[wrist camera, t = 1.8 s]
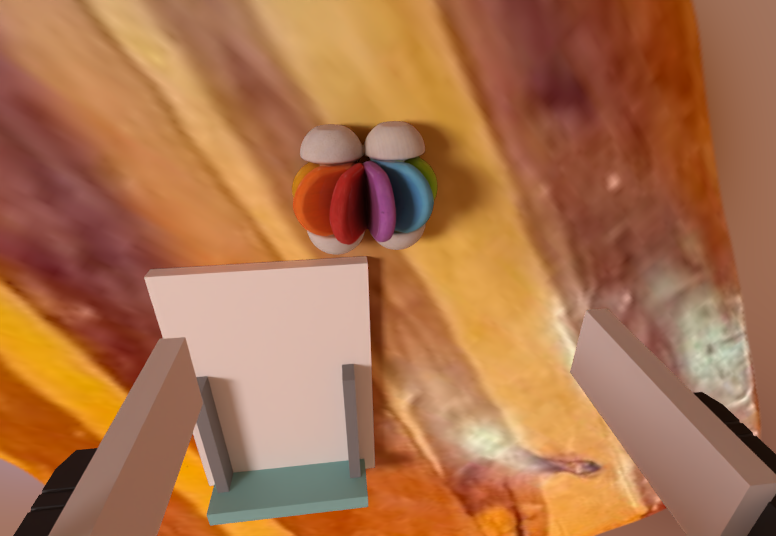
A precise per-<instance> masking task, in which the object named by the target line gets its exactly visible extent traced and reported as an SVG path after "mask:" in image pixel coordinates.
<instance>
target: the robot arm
mask: <svg viewBox="0 0 776 536" xmlns="http://www.w3.org/2000/svg"><path fill="white" fill-rule="evenodd" d="M570 373H571V374H572V376H573V377H574V378H575V380H576V381H577V383H578V384H579V385H580V387H581V388H582V390H583V391H584V392H585V394H586V395H587V397H588V398H589V399H590V401H591V402H592V404H593V405H594V406H595V408H596V409H597V411H598V412H599V413H600V415H601V416H602V418H603V419H604V420H605V422H606V423H607V425H608V426H609V427H610V429H611V430H612V432H613V433H614V434H615V436H616V437H617V439H618V440H619V441H620V443H621V444H622V446H623V447H624V448H625V450H626V451H627V453H628V454H629V455H630V457H631V458H632V460H633V461H634V462H635V464H636V465H637V467H638V468H639V469H640V471H641V472H642V474H643V475H644V477H645V478H646V479H647V481H648V482H649V484H650V485H651V486H652V488H653V489H654V491H655V492H656V493H657V495H658V496H659V498H660V499H661V500H662V502H663V503H664V505H665V506H666V507H667V509H668V510H669V512H670V513H671V514H672V516H673V517H674V519H675V520H676V521H677V523H678V524H679V526H680V527H681V528H682V530H683V531H684V533H685V534H686V535H687V536H776V454H775V453H774V452H773V451H772V450H771V449H770V448H768V447H767V446H766V445H765V444H764V443H763V442H762V441H761V440H760V439H759V438H758V437H757V436H753V433H752V432H751V431H750V430H749V429H748V428H747V427H746V426H745V425H744V424H743V423H740V422H739V419H738V418H736V417H735V416H734V415H733V414H732V413H731V412H730V411H729V410H728V409H727V408H726V407H725V406H724V405H722V404H721V403H719V402H718V401H716V400H714V399H713V398H711V397H709V396H708V395H706V394H704V393H703V392H697V393H693V392H691V391H690V390H689V389H688V388H687V387H686V386H685V385H684V384H683V383H682V382H681V381H680V380H679V379H678V378H677V377H676V376H675V375H674V374H673V373H672V372H671V371H670V370H669V369H668V368H667V367H666V366H665V365H664V364H663V363H662V362H661V361H660V360H659V359H658V358H657V357H656V356H655V355H654V354H653V353H652V352H651V351H650V350H649V349H648V348H647V347H646V346H645V345H644V344H643V343H642V342H641V341H640V340H639V339H638V338H637V337H636V336H635V335H634V334H633V333H632V332H630V331H629V330H628V329H627V328H626V327H625V326H624V325H623V324H622V323H621V322H620V321H619V320H618V319H617V318H616V317H615V316H614V315H613V314H612V313H611V312H610V311H609V310H608V309H592V310H586V312H585V316H584V320H583V323H582V327H581V331H580V335H579V339H578V343H577V347H576V351H575V355H574V359H573V363H572V367H571V371H570ZM202 405H203V401H202V397H201V393H200V389H199V386H198V382H197V378H196V375H195V371H194V367H193V364H192V360H191V356H190V352H189V349H188V345H187V341H186V338H185V337H181V338H166V339H159V341H158V343H157V344H156V346H155V348H154V350H153V351H152V353H151V355H150V357H149V359H148V360H147V362H146V364H145V366H144V367H143V369H142V371H141V373H140V374H139V376H138V378H137V380H136V381H135V383H134V385H133V387H132V389H131V390H130V392H129V394H128V396H127V397H126V399H125V401H124V403H123V404H122V406H121V408H120V410H119V412H118V413H117V415H116V417H115V419H114V420H113V422H112V424H111V426H110V427H109V429H108V431H107V433H106V435H105V436H104V438H103V440H102V442H101V443H100V445H99V447H98V448H94V449H83V450H76V451H75V452H74V453H73V454H71V455H70V456H69V457H68V458H67V459H66V460H65V461H64V462H63V463H62V464H61V465H60V466H58V467H57V468H56V469H55V471H54V472H53V474H52V476H51V477H50V479H49V480H48V482H47V484H46V485H45V487H44V488H43V490H42V494H41V495H39V496H38V498H37V499H36V501H35V503H34V504H33V506H32V507H31V512H29V513H27V515H26V517H25V518H24V520H23V521H22V523H21V525H20V526H19V528H18V529H17V531H16V532H15V534H14V535H13V536H157V534H158V531H159V528H160V525H161V522H162V519H163V517H164V514H165V511H166V508H167V505H168V502H169V499H170V496H171V494H172V491H173V488H174V485H175V482H176V479H177V476H178V473H179V471H180V468H181V465H182V462H183V459H184V456H185V453H186V450H187V448H188V445H189V442H190V439H191V436H192V433H193V430H194V427H195V425H196V422H197V419H198V416H199V413H200V410H201V407H202Z"/></svg>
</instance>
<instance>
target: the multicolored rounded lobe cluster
mask: <svg viewBox="0 0 776 536" xmlns="http://www.w3.org/2000/svg"><path fill="white" fill-rule="evenodd" d="M424 152H425V144H424V141H423V138H422V136H421V134H420V133H419V132H418V131H417V129H416V128H415V127H413V126H412V125H411V124H409V123H406V122H400V121H389V122H383V123H380V124H378V125H377V126H375V127H374V128H373V129H372V130H371V131H370V133H369V134H368V136H367V137H366V139H365V143H364V145H362V144H361V142H360V140H359V138H358V137H357V136H356V134H355V133H354V132H353V131H352V130H350V129H349V128H347V127H345V126H343V125H335V124H328V125H320V126H317V127H315V128H313V129H312V130H311V131H310V132H309V133H308V134H307V135H306V136H305V138H304V140H303V142H302V145H301V149H300V156H301V158H302V159H304V160H306V161H308V163H307V164H306V165H304V166H303V167H302V168H301V169H300V170H299V171H298V173H297V174H296V176H295V178H294V181H293V185H292V194H293V197H294V201H293V209H294V213H295V215H296V218H297V219H298V221H299V222H300V224H301V225H302V226H303V227H304V228H305V229H306V230H307V232H308V235H309V237H310V239H311V241H312V242H313V244H314V245H315V246H316V247H317V248H319V249H320V250H322V251H324V252H326V253H329V254H344V253H347V252H349V251H351V250H353V249H354V248H355V247H356V246H357V245H358V244H359V243H360V242H361V240H362V238H363V236H364V232H365V230H366V229H369V231H370V233H371V235H372V236H373V238H374V239H375V240H376V241H377V242H378V243H379V244H380V245H382V246H384V247H386V248H389V249H395V250H400V249H405V248H408V247H410V246H412V245H413V244H415V243H416V242H417V241H418V240H419V239H420V237H421V236H422V234H423V232H424V229H425V225H426V222H427V220H428V219H429V217H430V215H431V213H432V210H433V205H434V200H435V197H436V194H437V179H436V176H435V173H434V171H433V170H432V168H431V167H430V166H429V165H428V164H427V163H426V162H425V161H424V160H423V159H421V158H420V157H419V156H420V155H422V154H423V153H424ZM363 155H365V156H368V157H369V158H370V161H366V162H364V163H363V164H361V163H358V162H357V161H358V160H359V159H360V158H361V157H362V156H363Z"/></svg>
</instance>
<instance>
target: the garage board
mask: <svg viewBox="0 0 776 536" xmlns="http://www.w3.org/2000/svg"><path fill="white" fill-rule="evenodd" d="M144 279H145V282H146V285H147V288H148V291H149V295H150V298H151V301H152V304H153V307H154V311H155V314H156V317H157V320H158V323H159V327H160V330H161V333H162V336H163V339H166V338H181V337H185V338H186V341H187V345H188V349H189V352H190V356H191V360H192V364H193V367H194V371H195V375H196V378H197V382H198V386H199V389H200V393H201V397H202V401H203V405H202V407H201V410H200V413H199V416H198V419H197V422H196V425H195V427H194V430H193V435H194V438H195V441H196V445H197V448H198V451H199V454H200V457H201V460H202V464H203V467H204V470H205V473H206V476H207V480H208V483H209V486H212V485H214V488H213V492H212V496H211V500H210V504H209V508H208V512H207V517H208V520H209V523H210V525H218V524H226V523H235V522H243V521H252V520H260V519H269V518H277V517H286V516H294V515H303V514H311V513H320V512H328V511H337V510H345V509H353V508H362V507H368V495H367V483H366V470H365V469H367V468H375V452H374V424H373V396H372V368H371V340H370V312H369V285H368V262H367V256H362V257H345V258H329V259H313V260H296V261H280V262H264V263H247V264H231V265H215V266H198V267H182V268H166V269H150V270H149V272H148V273H147V274H146V276H145V277H144Z"/></svg>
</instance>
